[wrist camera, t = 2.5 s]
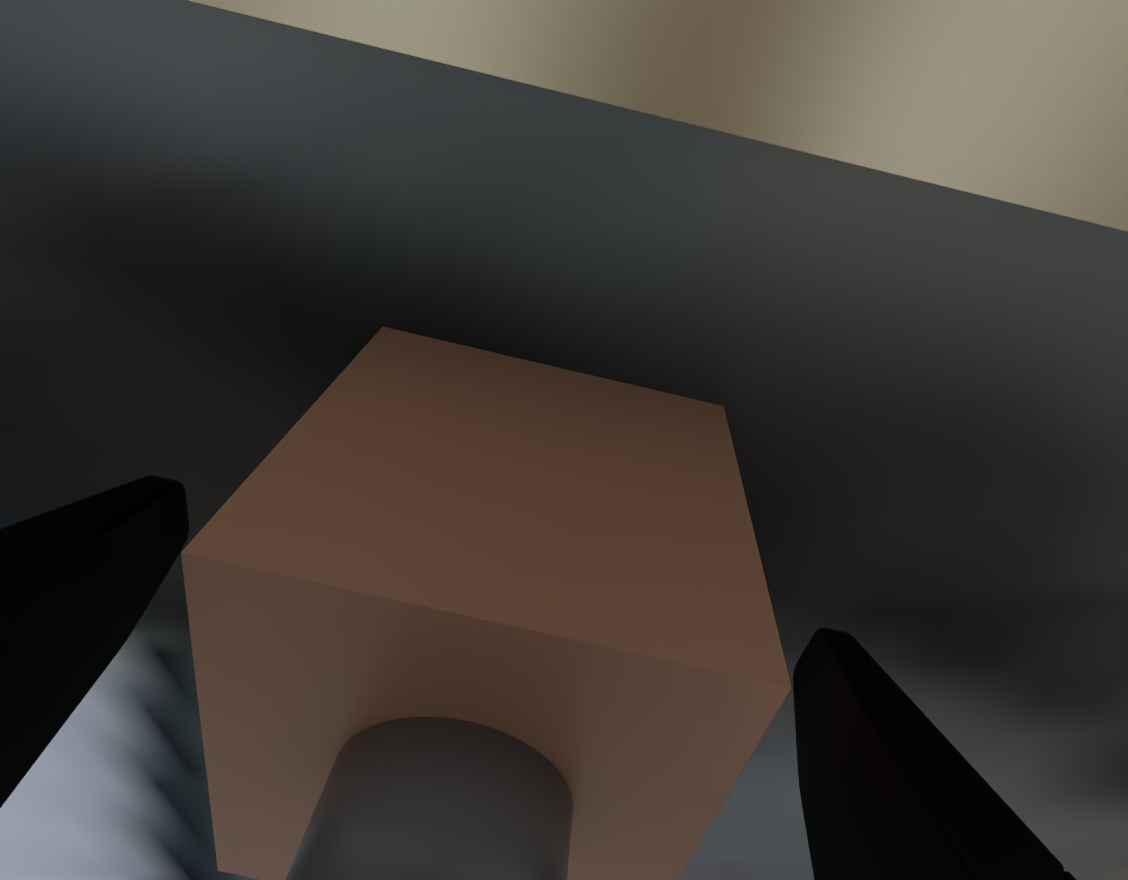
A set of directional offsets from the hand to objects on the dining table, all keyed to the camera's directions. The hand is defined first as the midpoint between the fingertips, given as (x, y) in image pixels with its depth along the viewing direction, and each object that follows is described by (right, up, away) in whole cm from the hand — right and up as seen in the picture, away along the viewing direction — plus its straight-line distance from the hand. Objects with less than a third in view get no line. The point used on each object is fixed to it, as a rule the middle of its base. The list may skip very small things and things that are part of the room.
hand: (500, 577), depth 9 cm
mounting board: (+5, +12, -6) cm, 14 cm away
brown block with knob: (0, +1, +2) cm, 2 cm away
